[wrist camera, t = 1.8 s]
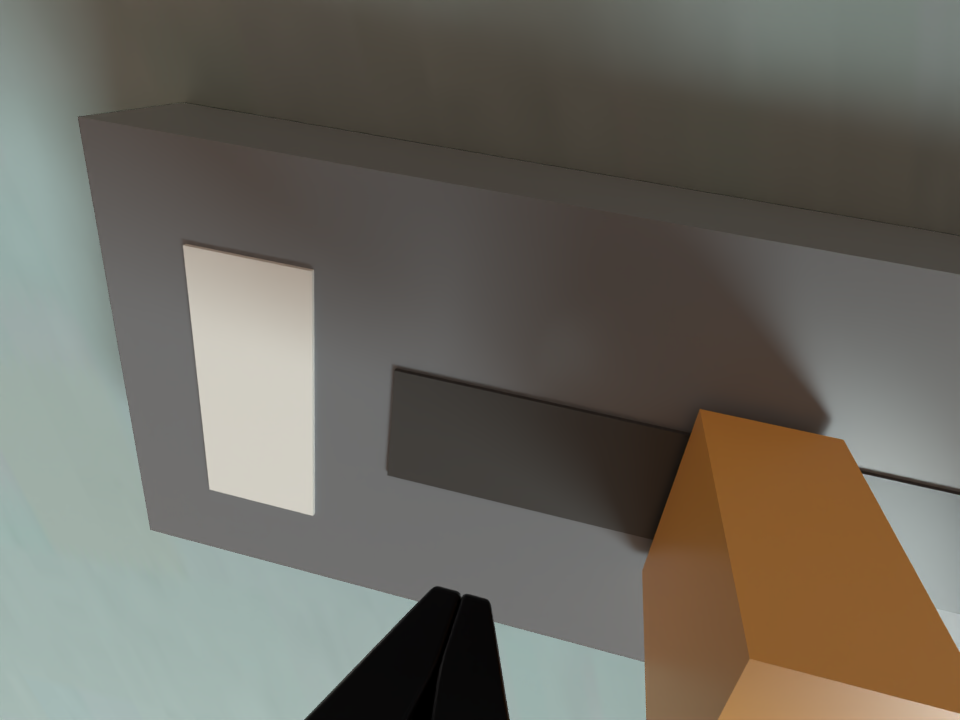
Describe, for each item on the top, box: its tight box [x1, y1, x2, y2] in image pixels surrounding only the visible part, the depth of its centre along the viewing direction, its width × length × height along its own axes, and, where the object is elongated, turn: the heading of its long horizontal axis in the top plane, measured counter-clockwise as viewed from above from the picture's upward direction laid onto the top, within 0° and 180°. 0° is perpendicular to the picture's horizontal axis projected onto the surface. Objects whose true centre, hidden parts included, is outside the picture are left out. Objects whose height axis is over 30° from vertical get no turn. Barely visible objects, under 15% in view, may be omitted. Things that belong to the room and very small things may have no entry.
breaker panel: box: [78, 103, 960, 662], centre depth 13 cm, size 24×10×3 cm, turn 83°
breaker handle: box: [642, 409, 960, 720], centre depth 9 cm, size 2×4×5 cm, turn 173°
